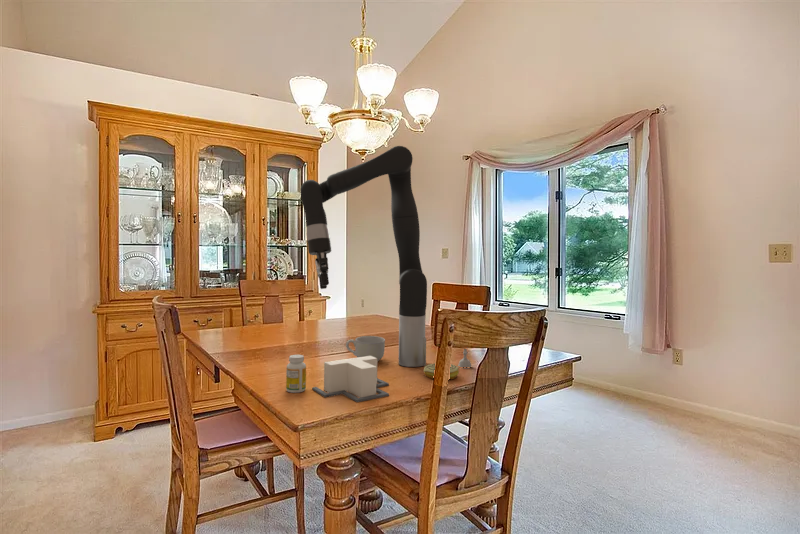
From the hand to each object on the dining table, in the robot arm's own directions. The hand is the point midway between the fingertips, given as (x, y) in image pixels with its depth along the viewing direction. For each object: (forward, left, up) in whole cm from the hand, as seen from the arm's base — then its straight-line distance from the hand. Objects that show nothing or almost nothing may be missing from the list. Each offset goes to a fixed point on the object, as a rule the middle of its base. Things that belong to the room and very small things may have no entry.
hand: (324, 286), depth 148 cm
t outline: (-11, +25, -27) cm, 38 cm away
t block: (-11, +25, -27) cm, 39 cm away
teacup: (-14, -11, -27) cm, 33 cm away
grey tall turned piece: (-48, -1, -27) cm, 55 cm away
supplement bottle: (+6, +23, -27) cm, 37 cm away
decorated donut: (-38, +11, -28) cm, 48 cm away
